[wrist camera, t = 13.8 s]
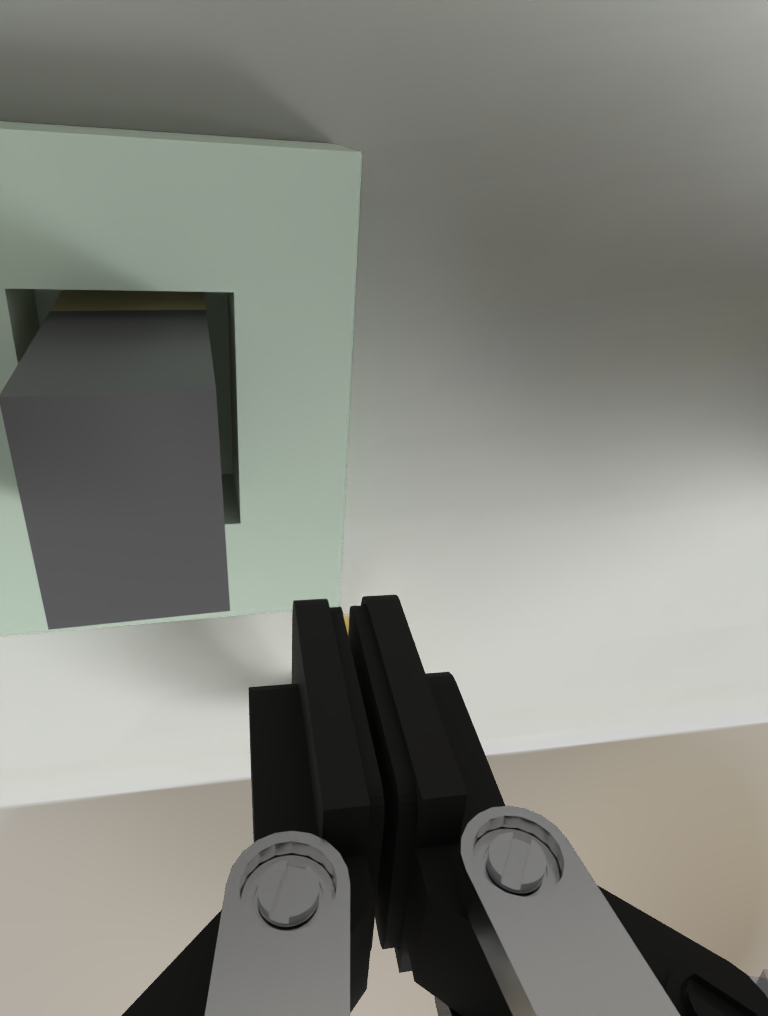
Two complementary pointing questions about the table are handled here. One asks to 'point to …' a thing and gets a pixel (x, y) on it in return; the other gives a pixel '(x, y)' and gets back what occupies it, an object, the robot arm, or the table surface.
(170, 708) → the table surface
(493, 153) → the table surface
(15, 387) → the plug
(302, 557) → the socket
